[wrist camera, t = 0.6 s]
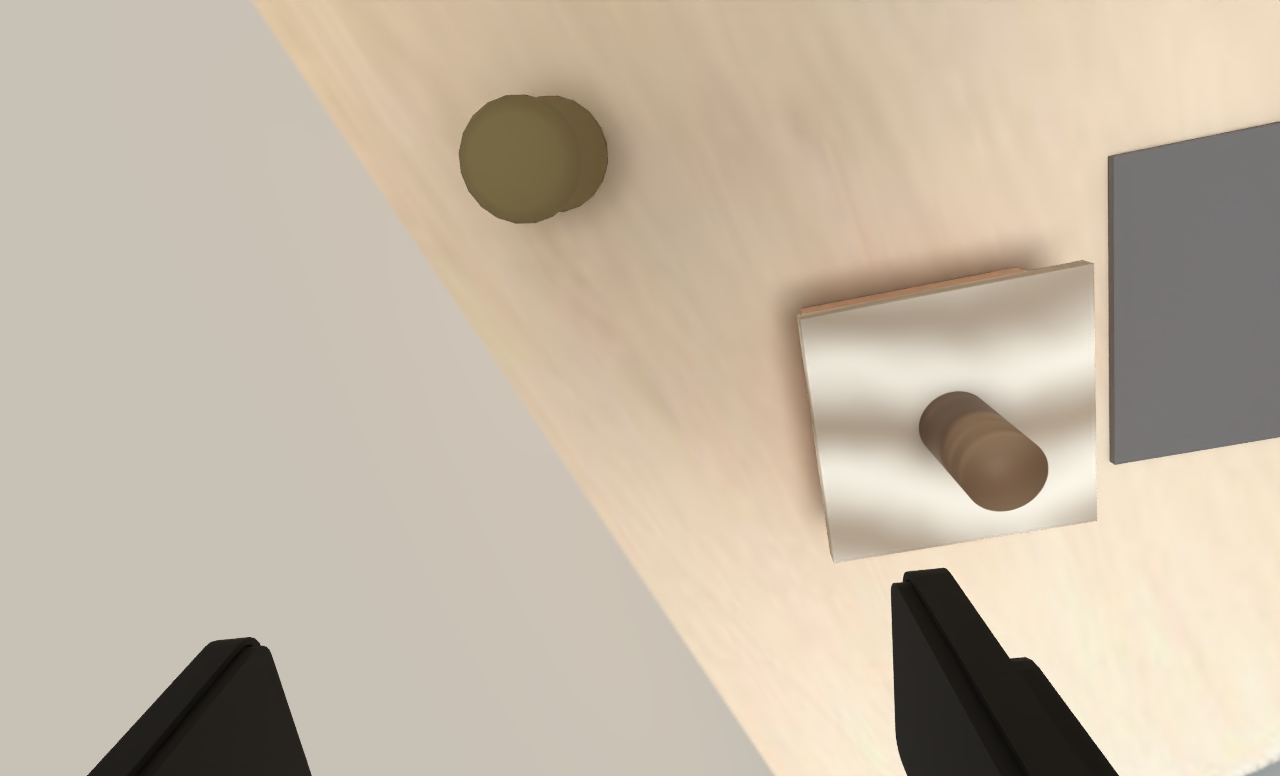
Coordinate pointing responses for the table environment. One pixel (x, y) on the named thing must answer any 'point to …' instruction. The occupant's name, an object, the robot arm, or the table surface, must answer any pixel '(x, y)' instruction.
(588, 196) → the cork
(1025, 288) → the lid
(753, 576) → the table surface
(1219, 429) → the mat
